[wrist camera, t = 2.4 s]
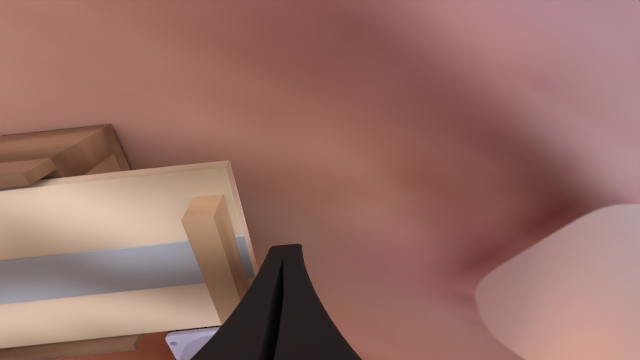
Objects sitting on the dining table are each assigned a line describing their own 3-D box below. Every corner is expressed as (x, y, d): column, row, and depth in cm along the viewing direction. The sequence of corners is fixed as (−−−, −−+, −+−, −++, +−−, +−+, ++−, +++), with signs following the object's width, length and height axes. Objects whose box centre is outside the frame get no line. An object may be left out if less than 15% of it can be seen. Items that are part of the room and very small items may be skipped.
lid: (268, 309, 17) (264, 348, 15) (-12, 338, 17) (-55, 382, 15) (229, 160, 12) (215, 187, 10) (-153, 200, 12) (-241, 235, 10)
